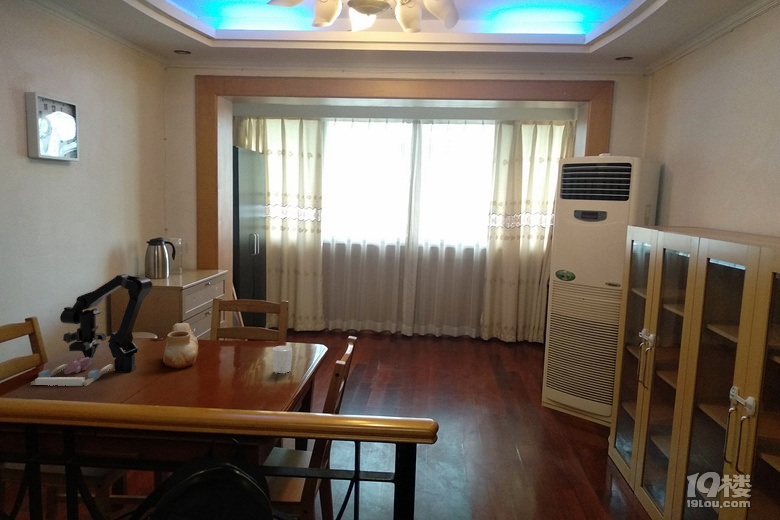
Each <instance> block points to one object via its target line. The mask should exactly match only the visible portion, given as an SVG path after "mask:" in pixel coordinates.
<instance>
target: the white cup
mask: <svg viewBox="0 0 780 520" xmlns="http://www.w3.org/2000/svg"><path fill="white" fill-rule="evenodd" d="M292 357H293V347H292V346H288V345H278V346H274V347H273V348H272V361H273V364H272V365H273V372H274V371H275V372H279V373H283V372H289V371H290V372H291V369H292V367H291V366H292V359H293V358H292ZM290 372H289V373H290Z"/></svg>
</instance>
